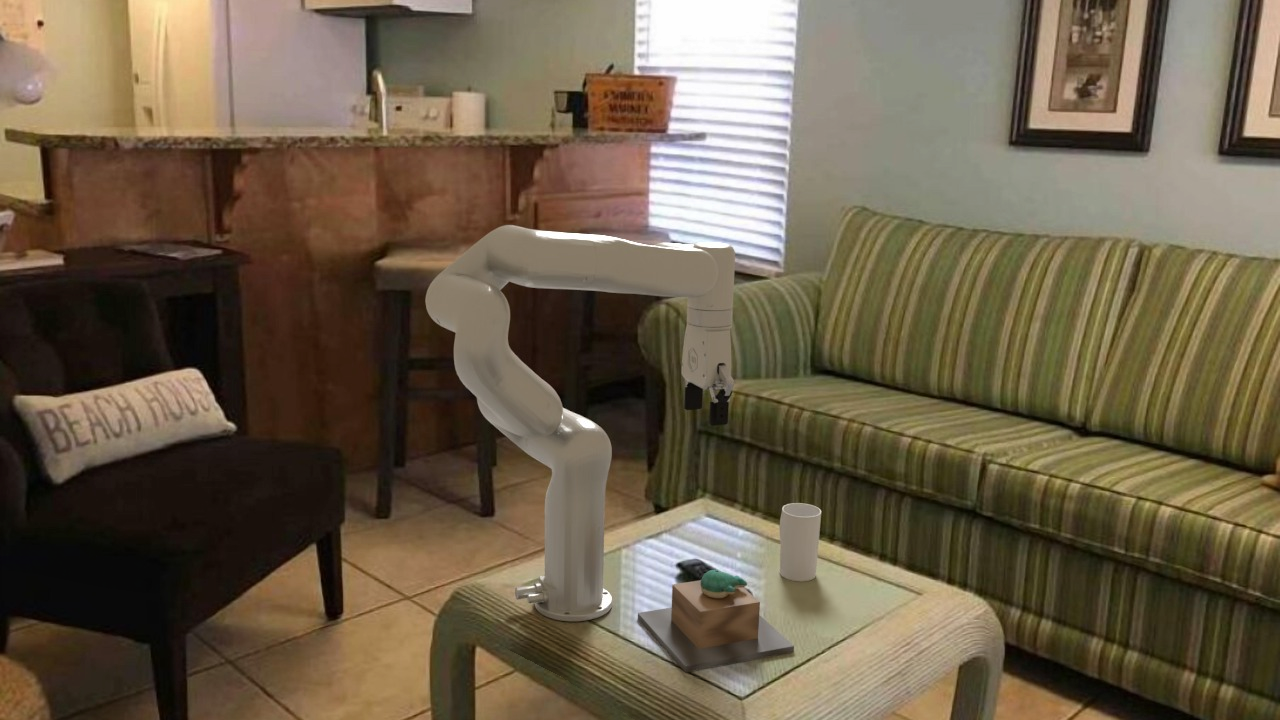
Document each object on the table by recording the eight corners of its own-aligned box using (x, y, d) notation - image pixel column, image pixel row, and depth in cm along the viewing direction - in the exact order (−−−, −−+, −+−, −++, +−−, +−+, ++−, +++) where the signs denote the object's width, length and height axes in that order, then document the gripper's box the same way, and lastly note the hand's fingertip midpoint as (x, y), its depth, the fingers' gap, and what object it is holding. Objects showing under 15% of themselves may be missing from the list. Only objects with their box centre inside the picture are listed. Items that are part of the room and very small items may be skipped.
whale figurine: (692, 589, 171) (693, 566, 171) (733, 581, 175) (734, 558, 174) (712, 604, 166) (713, 580, 166) (753, 595, 170) (754, 572, 169)
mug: (824, 579, 193) (828, 514, 190) (790, 584, 190) (794, 519, 188) (795, 557, 202) (799, 495, 199) (762, 562, 199) (766, 499, 197)
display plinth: (685, 672, 160) (687, 628, 159) (637, 618, 176) (638, 577, 175) (793, 652, 167) (796, 609, 166) (738, 602, 183) (740, 562, 182)
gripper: (667, 309, 190) (664, 405, 194) (712, 329, 175) (707, 433, 179) (707, 307, 193) (703, 402, 197) (754, 326, 178) (749, 429, 182)
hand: (705, 416), depth 188 cm, fingers open, 9 cm apart
